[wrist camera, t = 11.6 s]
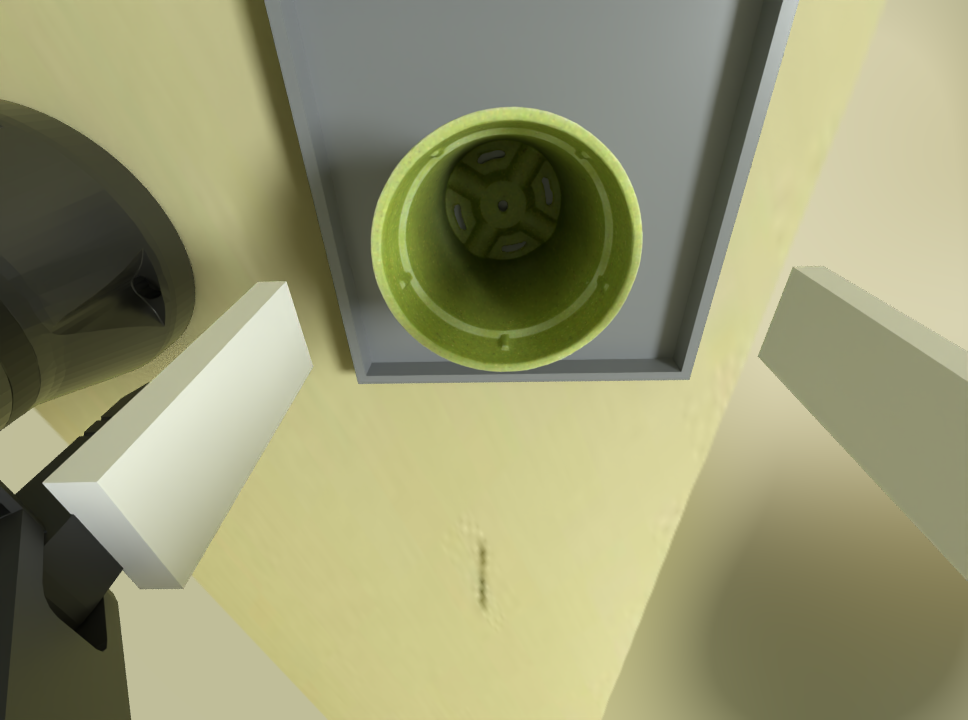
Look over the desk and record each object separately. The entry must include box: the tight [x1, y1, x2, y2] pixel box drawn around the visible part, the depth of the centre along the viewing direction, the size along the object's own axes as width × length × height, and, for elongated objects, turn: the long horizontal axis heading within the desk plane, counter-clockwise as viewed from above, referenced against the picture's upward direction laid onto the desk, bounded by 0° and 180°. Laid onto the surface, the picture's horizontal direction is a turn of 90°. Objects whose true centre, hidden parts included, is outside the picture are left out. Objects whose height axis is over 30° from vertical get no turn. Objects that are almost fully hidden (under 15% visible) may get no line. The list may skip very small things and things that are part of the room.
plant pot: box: [371, 107, 643, 372], centre depth 19 cm, size 9×9×9 cm
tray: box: [264, 0, 799, 384], centre depth 22 cm, size 21×21×2 cm
